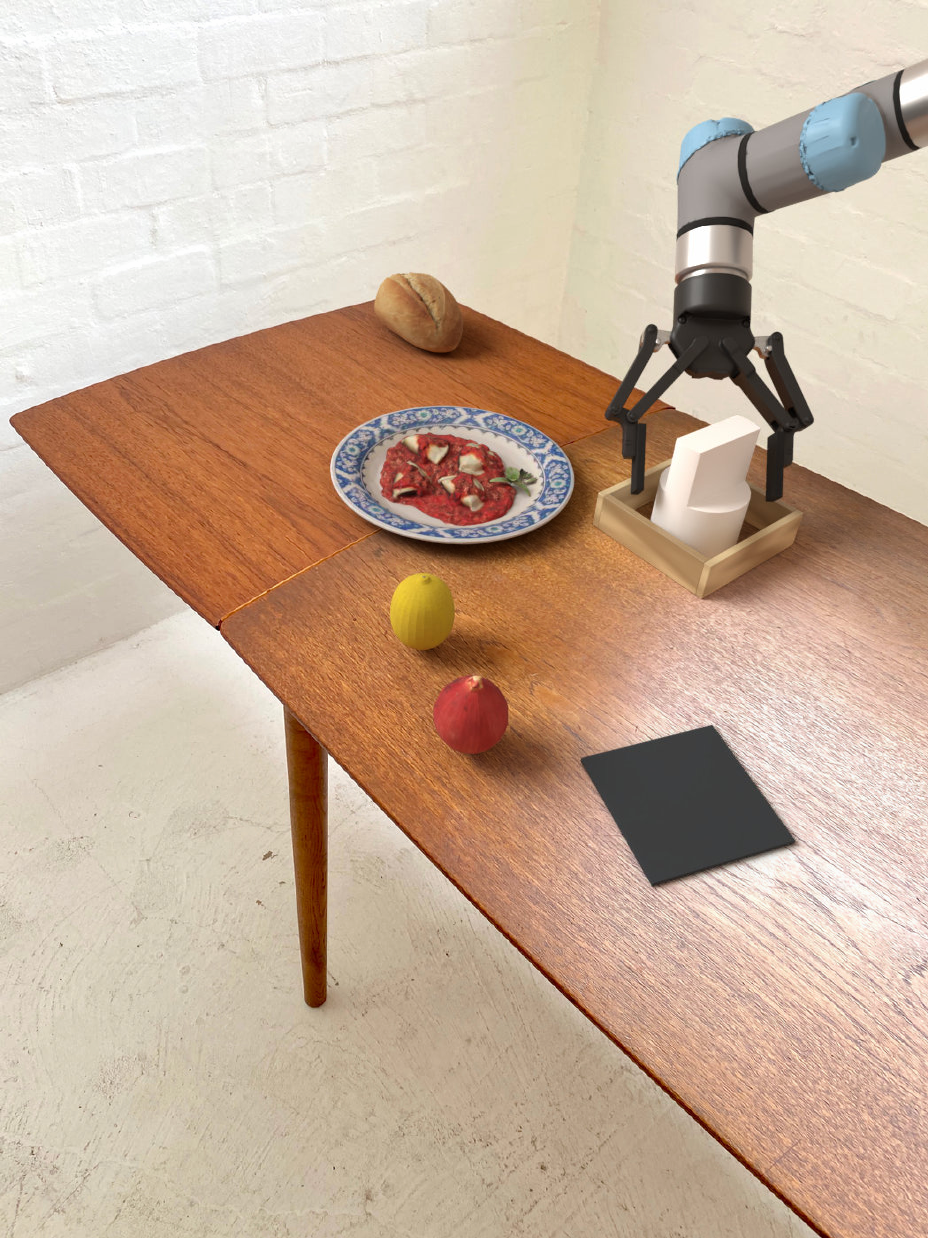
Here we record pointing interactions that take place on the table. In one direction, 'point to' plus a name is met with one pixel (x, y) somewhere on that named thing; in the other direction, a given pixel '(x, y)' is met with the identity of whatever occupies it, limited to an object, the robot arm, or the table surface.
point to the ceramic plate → (452, 474)
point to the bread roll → (420, 311)
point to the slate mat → (685, 804)
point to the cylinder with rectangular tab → (708, 486)
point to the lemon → (422, 611)
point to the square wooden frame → (678, 557)
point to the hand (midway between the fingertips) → (705, 496)
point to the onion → (471, 714)
